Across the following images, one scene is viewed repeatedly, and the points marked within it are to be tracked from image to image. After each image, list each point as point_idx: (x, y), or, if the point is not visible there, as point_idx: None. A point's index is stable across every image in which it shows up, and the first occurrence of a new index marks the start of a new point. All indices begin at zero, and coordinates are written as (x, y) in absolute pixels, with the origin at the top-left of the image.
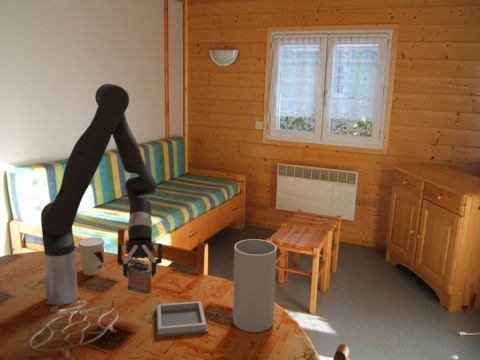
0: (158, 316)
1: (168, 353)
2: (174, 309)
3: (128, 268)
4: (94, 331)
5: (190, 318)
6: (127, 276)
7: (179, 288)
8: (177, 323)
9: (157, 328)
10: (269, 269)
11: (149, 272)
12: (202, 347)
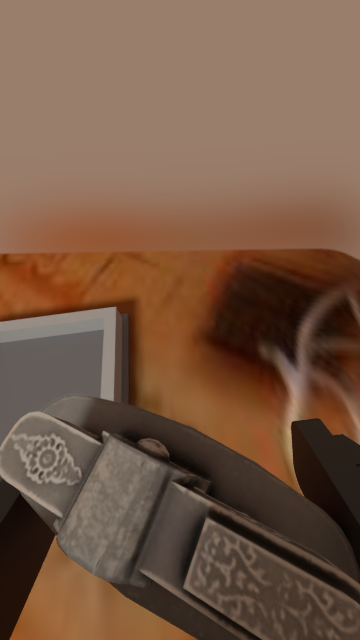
0: (111, 380)
1: (101, 257)
2: None
3: (326, 515)
4: (339, 349)
5: (2, 409)
6: (291, 432)
7: None
8: (55, 377)
9: (123, 349)
10: None
11: (55, 407)
12: (17, 277)
